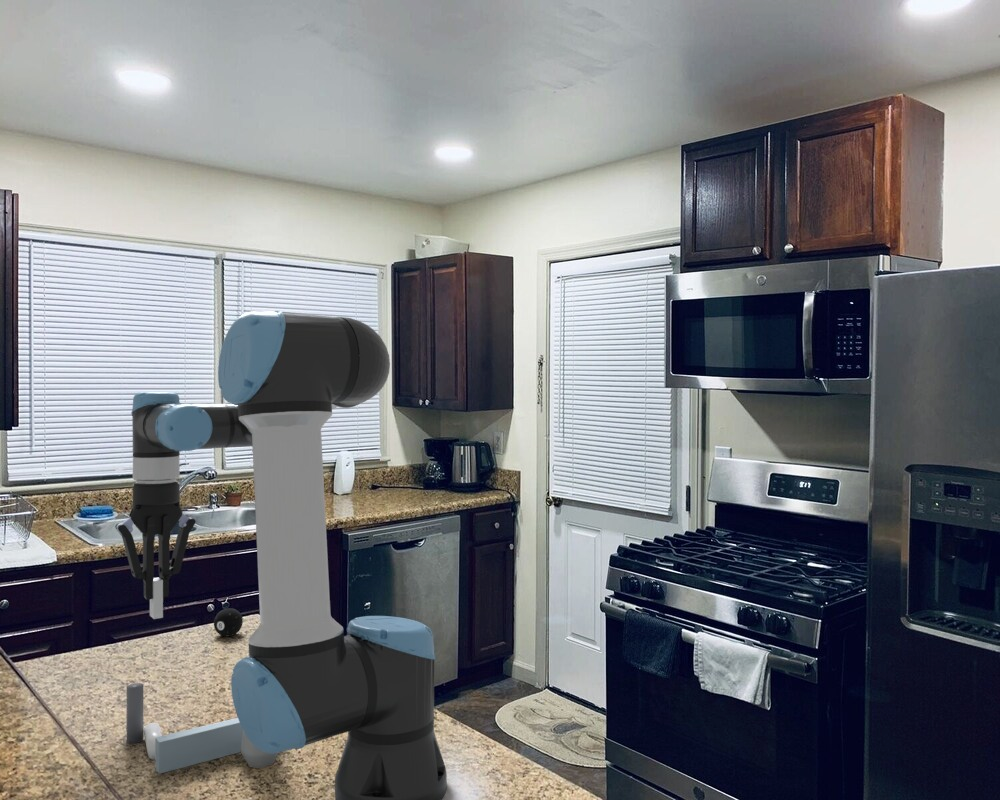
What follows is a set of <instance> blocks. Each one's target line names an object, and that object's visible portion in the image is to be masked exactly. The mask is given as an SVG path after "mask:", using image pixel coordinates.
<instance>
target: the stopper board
mask: <svg viewBox="0 0 1000 800" xmlns="http://www.w3.org/2000/svg"><path fill="white" fill-rule="evenodd" d="M243 732H244V730H243V728H242V726H241V724H240V722H239V719H238V717H235V718H231V719H228V720H223V721H218V722H215V723H210V724H206V725H203V726H202V725H201V726H198V727H193V728H190V729H185V730H181V731H176V732H174V733H169V734H165V735H162V736H160V737H156V738H155V760H154V761H155V766H154V767H155V770H156V772H157V773H158V774H159V775H160V774H164V773H167V772H172V771H174V770H179V769H182V768H186V767H191V766H194V765H197V764H198V765H199V764H201V763H205V762H209V761H213V760H215V759H216V760H217V759H221V758H224V757H227V756H230V755H235V754H239V753H241V743H242V738H243Z"/></svg>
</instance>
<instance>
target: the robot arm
mask: <svg viewBox="0 0 1000 800" xmlns="http://www.w3.org/2000/svg"><path fill="white" fill-rule="evenodd" d="M390 360H391V359H390V354H389V351H388V349H387V346H386V343H385V342H384V341H383V339H382V338H381V336H380V335H379V333H377V332H376V331H375V330H374V328H372V327H371V326H369V325H368V324H366V323H364V322H362V321H361V320H357V319H355V318H352V317H345V316H328V315H327V316H326V315H319V314H308V313H298V312H287V311H280V310H275V311H274V310H273V311H249V312H246V313H243V314H242V315H240V316H239V317H238V318H237V319H235V320H234V321H233V323H232V324H231V326H230V327H229V329H228V331H227V333H226V335H225V337H224V340H223V342H222V346H221V349H220V352H219V359H218V368H217V374H218V375H217V378H218V380H217V381H218V386H219V387H218V388H220V389H221V390H220V391H221V392H220V394H221V395H222V398H223V399H224V400H225V401H226V402H227V403H180V396H179V394H178V393H176V392H165V391H164V392H160V391H159V392H149V391H147V392H146V391H145V392H144V391H142V392H137V393H135V395H134V396H133V400H132V410H131V417H132V419H131V420H132V425H131V426H132V479H133V480H134V481H135V482H134V483H133V484H132V508H131V511H130V512H129V514H128V516H129V517H127V518H126V519H125V520H124V521H122V522H117V523H116V524H115V527H114V528H115V529H116V531H117V532H118V533H119V535H120V536H121V539H122V541H123V545H124V546H123V547H124V549H125V553H126V556H127V561H128V564H129V568H130V572H131V575H132V576H133V577H134V578H135V579H137V580H142V581H143V597H144V599H145V600H147V601H149V617H151V618H152V619H153V620H156V619H162V618H164V604H163V603H164V598H166V597H167V598H168V597H169V594H170V590H169V589H170V579H171V577H172V576H174V575H178V574H179V573H181V569H182V565H183V562H184V561H183V560H184V557H185V553H186V549H187V544H188V541H189V536H190V532H191V531H192V529H193V528H194V526H195V525H196V519H195V518H192V517H190V516H187V515H185V514H184V512H183V509H182V508H181V505H180V500H181V498H180V495H181V494H180V491H181V490H180V485H181V484H180V482H179V481H177V480H178V479H179V478H180V475H181V474H180V473H181V472H180V471H181V470H180V453H181V452H191V451H195V450H206V449H207V450H208V449H224V448H225V449H227V448H246V447H247V448H249V447H252V467H253V487H254V489H253V490H254V511H255V534H256V550H257V551H256V553H257V554H256V555H257V556H256V557H257V558H256V559H257V577H258V578H257V579H258V600H259V601H258V602H259V622H260V623H259V625H258V627H257V628H256V629H255V630H254V632H253V633H252V634H251V635H250V636H249V637H248V656H245V657H242V658H241V660H239V661H237V662H236V663H235V665H234V666H233V668H232V671H233V672H232V673H231V678H230V679H231V680H230V681H231V682H230V686H231V689H230V690H231V697H232V701H233V702H232V703H233V706H234V709H235V713H236V716H237V717H236V718H238V719H239V722H240V724H241V726H242V728H243V730H244V732H245V734H246V736H247V737H248V738H249V740H250V741H251V742H252V744H253V745H254V746H255V747H257V748H258V749H259V750H261V751H263V752H265V753H271V754H274V753H278V754H279V753H282V752H286V751H290V750H299V749H303V748H304V747H305V746H308V745H312V744H314V743H317V742H320V741H323V740H326V739H330V738H332V737H335V736H339V735H341V734H342V735H343V734H344V733H347V739H346V742H345V745H344V748H343V751H342V753H341V757H340V759H339V764H338V766H337V770H336V773H335V777H334V798H335V800H442V798H443V799H444V797H445V794H446V792H447V787H448V786H447V784H448V783H447V782H448V781H447V780H448V779H447V778H448V777H447V774H448V773H447V768H446V765H445V762H444V759H443V756H442V753H441V749H440V746H439V743H438V740H437V737H436V733H435V660H436V654H435V644H434V634H433V632H432V630H431V628H430V627H429V626H428V625H426V624H424V623H422V622H421V621H417V620H414V619H411V618H410V619H409V618H405V617H397V616H388V615H365V616H359V617H355V618H353V619H351V620H350V621H349V622H348V626H347V628H346V632H347V633H348V634H347V635H345V634H344V627H343V626H342V625H341V624H340V623H339V622H337V621H336V620H335V618H333V617H332V615H331V600H330V579H329V578H330V577H329V560H328V558H329V556H328V539H327V520H326V517H327V516H326V501H325V483H324V482H325V481H324V478H325V477H324V464H323V463H324V462H323V460H324V459H323V444H322V442H323V440H322V428H323V426H324V425H325V424H326V423H327V421H328V420H330V418H331V417H332V416H333V410H334V409H336V408H341V409H349V408H350V409H351V408H353V407H354V408H355V407H356V406H359V405H361V404H363V403H365V402H367V401H369V400H370V399H372V398H373V397H375V396H376V395H377V394H378V393H380V391H381V390H382V388H384V386H385V384H386V383H387V381H388V377H389V375H390V369H391V368H390V367H391V366H390V365H391V363H390ZM177 523H178V526H179V529H178V532H177V536H176V539H175V544H174V547H173V551H172V556H171V557H170V551H171V550H170V549H171V548H170V545H171V544H170V542H171V541H170V540H171V531H172V530H173V529H174V528H175V526H176V525H177ZM133 525H134V526H135V528H137V529H138V531H139V532H140V533H141V534H142V537H141V538H142V567H141V562H140V559H139V555H138V552H137V551H138V550H137V548H136V544H135V540H134V536H133V534H132V532H133V531H134V528H133ZM155 535H157V538H158V575H159V577H155V540H156V536H155Z"/></svg>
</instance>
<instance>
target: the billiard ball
mask: <svg viewBox="0 0 1000 800" xmlns="http://www.w3.org/2000/svg"><path fill="white" fill-rule="evenodd" d="M243 619H244V618H243V615H242V614H241V612H240V611H239V610H237V609H236V608H232V607H231V608H229V607H228V608H224V609H222V610H220V611H218V613H216V616H215V617H214V619H213V620H214V621H213V626H214V627H213V628H214V630H215V632H216V633H217V634H218V635H220V636H223V637H231V636H234V635H236V634H237V633H240V630H241V628H242V627H243V623H244V622H243V621H244V620H243Z"/></svg>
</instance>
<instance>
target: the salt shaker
mask: <svg viewBox="0 0 1000 800" xmlns="http://www.w3.org/2000/svg"><path fill="white" fill-rule="evenodd" d="M240 753H241V755H242V757H243V758H244V760H245V762H246V763H247V765H248V767H249V768H256V769H263V768H267V767H269V766H272V765H273V764H274V763H275V761H276V759H277V757H278V755H279V753H274V754H271V753H265V752H263V751H261V750H259V749H258V748H257V747H255V746H254V745H253V744H252V742H251V741H250V740H249V738H248V737H247V736H246V734H245V732H243V738H242V743H241V752H240Z"/></svg>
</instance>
